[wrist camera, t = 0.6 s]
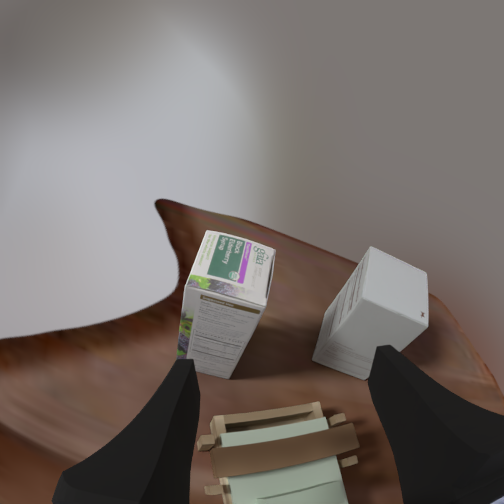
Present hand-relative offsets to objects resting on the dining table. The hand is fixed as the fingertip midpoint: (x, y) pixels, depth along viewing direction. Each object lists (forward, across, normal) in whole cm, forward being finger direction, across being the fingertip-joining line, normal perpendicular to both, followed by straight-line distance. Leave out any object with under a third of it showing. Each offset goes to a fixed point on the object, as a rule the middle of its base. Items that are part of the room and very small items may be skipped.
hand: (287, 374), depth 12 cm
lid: (+2, -1, +18) cm, 18 cm away
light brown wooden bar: (+5, -1, +15) cm, 16 cm away
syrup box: (+18, +6, +13) cm, 23 cm away
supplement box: (+20, -10, +16) cm, 28 cm away
